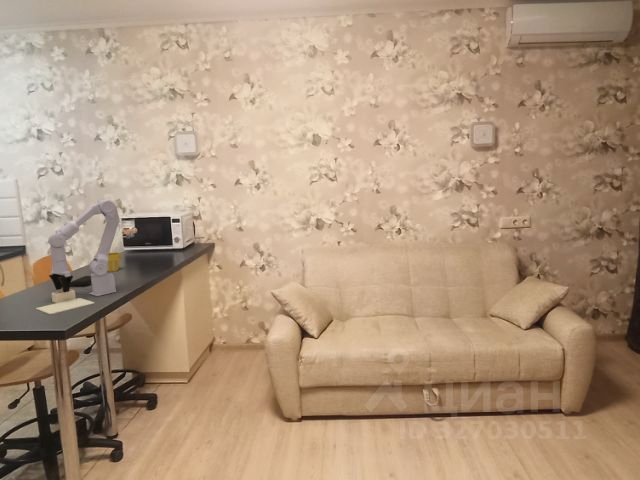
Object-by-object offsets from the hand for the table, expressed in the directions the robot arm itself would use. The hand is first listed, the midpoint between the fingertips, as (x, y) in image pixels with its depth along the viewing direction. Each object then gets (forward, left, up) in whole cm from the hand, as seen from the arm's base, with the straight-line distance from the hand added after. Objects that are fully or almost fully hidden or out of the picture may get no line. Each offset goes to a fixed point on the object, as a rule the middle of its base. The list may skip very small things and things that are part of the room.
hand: (62, 290), depth 208 cm
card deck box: (0, 0, -5) cm, 5 cm away
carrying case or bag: (-20, -24, -5) cm, 32 cm away
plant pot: (-44, -41, -5) cm, 60 cm away
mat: (+4, +11, -4) cm, 12 cm away
